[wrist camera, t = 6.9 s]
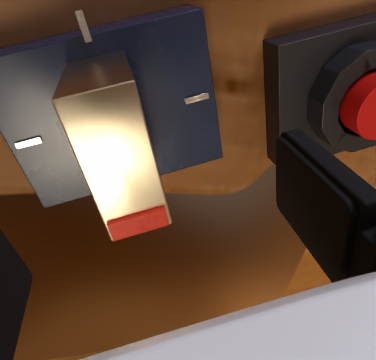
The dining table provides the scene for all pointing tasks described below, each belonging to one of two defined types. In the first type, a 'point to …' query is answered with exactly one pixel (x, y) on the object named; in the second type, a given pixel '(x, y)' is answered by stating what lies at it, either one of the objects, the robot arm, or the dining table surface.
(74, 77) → the handle
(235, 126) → the dining table surface
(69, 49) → the handle panel
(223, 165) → the dining table surface
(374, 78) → the button
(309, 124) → the button box
